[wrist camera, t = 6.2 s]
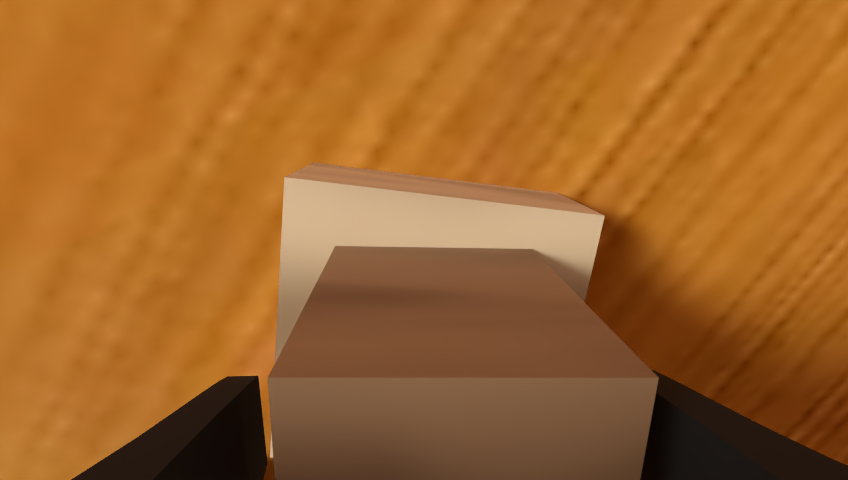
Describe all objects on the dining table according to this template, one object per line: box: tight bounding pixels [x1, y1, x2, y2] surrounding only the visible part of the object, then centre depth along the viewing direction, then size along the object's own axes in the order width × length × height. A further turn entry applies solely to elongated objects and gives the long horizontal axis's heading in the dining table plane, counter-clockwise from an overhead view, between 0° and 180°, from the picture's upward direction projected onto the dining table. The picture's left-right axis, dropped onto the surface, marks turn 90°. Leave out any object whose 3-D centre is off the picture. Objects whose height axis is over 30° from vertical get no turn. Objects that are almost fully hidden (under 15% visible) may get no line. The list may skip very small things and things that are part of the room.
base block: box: [270, 163, 605, 458], centre depth 14 cm, size 8×8×4 cm
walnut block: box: [268, 246, 659, 480], centre depth 9 cm, size 5×5×6 cm
